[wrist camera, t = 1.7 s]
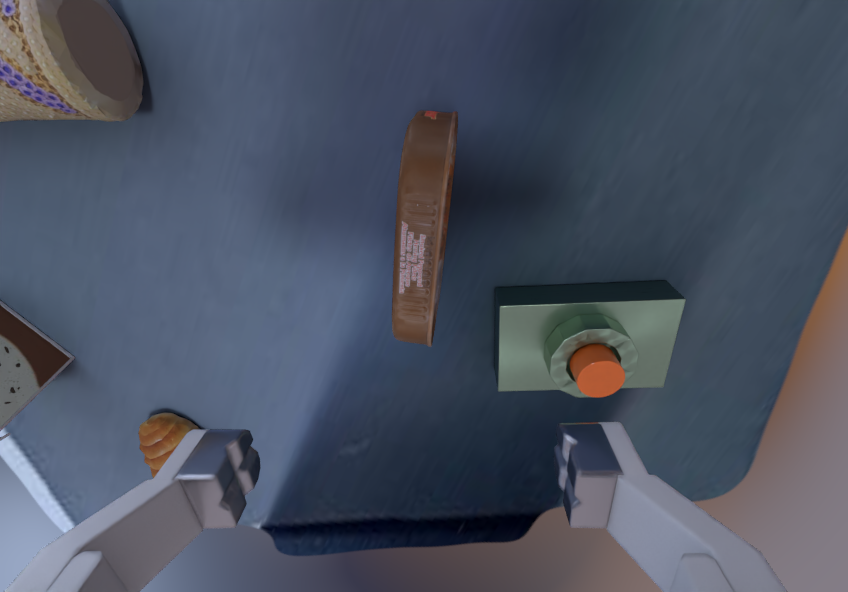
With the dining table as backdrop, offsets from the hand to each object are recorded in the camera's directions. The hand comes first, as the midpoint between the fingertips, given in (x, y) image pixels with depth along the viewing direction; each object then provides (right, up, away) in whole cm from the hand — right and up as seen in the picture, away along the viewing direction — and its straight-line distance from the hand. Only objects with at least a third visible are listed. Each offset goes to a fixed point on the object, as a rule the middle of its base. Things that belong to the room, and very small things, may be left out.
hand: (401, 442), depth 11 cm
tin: (+1, +10, +20) cm, 22 cm away
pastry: (-23, -12, +32) cm, 41 cm away
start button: (+13, -1, +19) cm, 23 cm away
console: (+13, +1, +23) cm, 27 cm away
